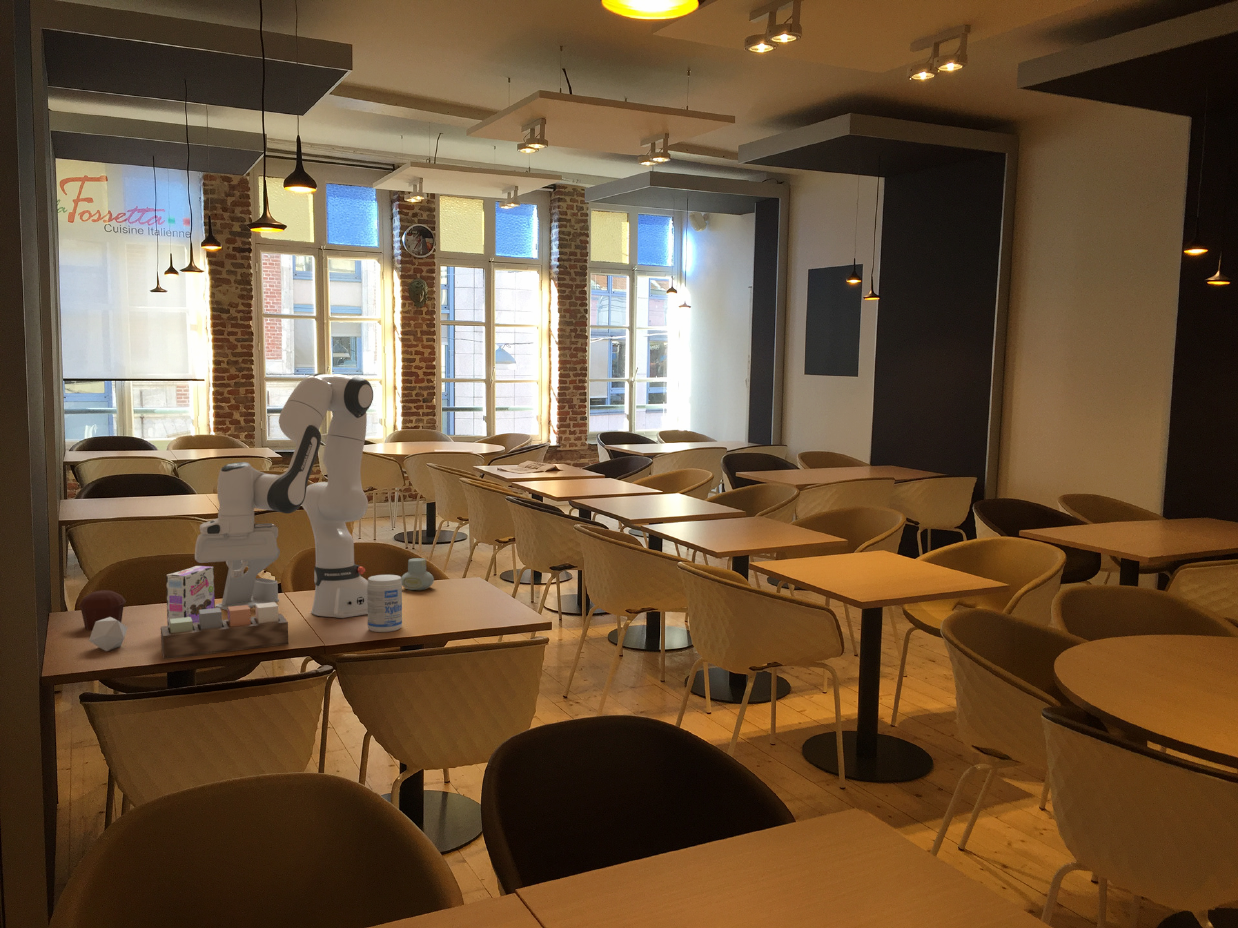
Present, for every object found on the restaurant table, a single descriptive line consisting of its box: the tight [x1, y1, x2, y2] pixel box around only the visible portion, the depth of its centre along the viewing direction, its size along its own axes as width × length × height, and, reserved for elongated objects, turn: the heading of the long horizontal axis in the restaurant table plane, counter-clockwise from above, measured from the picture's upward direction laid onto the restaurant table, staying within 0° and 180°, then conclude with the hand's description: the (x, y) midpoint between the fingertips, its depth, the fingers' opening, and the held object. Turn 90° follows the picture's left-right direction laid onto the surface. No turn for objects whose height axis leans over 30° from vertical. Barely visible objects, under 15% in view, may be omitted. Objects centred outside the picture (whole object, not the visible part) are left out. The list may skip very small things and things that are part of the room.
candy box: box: [165, 565, 216, 626], centre depth 271 cm, size 14×6×16 cm, turn 168°
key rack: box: [160, 613, 289, 660], centre depth 252 cm, size 30×10×6 cm, turn 119°
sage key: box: [170, 617, 193, 633], centre depth 247 cm, size 5×5×5 cm
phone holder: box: [215, 547, 281, 611], centre depth 298 cm, size 17×10×18 cm, turn 146°
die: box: [88, 617, 128, 652], centre depth 250 cm, size 8×9×10 cm
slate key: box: [199, 607, 223, 630], centre depth 250 cm, size 5×5×5 cm
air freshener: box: [400, 557, 435, 591], centre depth 322 cm, size 11×8×10 cm
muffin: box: [78, 589, 127, 631], centre depth 271 cm, size 12×11×10 cm
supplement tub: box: [367, 574, 403, 633], centre depth 271 cm, size 10×10×15 cm
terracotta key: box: [227, 605, 251, 627], centre depth 254 cm, size 5×5×5 cm
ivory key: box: [255, 602, 279, 624], centre depth 257 cm, size 5×5×5 cm
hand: (237, 576), depth 252 cm, fingers closed
